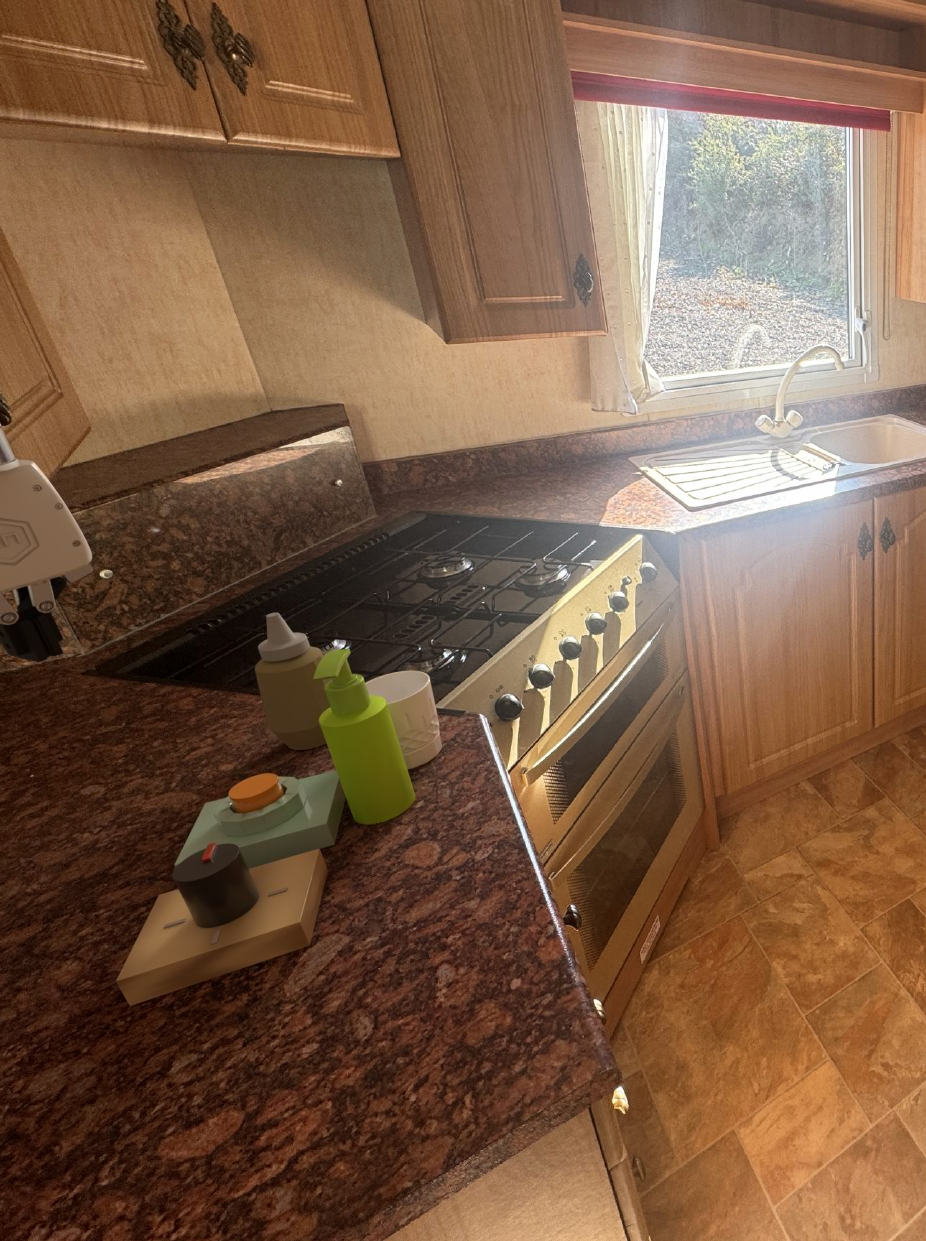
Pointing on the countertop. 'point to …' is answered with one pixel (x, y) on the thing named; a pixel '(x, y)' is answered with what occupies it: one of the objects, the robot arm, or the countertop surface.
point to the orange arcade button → (256, 793)
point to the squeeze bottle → (291, 686)
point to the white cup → (411, 713)
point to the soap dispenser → (363, 744)
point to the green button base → (274, 822)
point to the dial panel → (225, 931)
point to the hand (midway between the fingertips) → (40, 655)
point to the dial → (216, 885)
